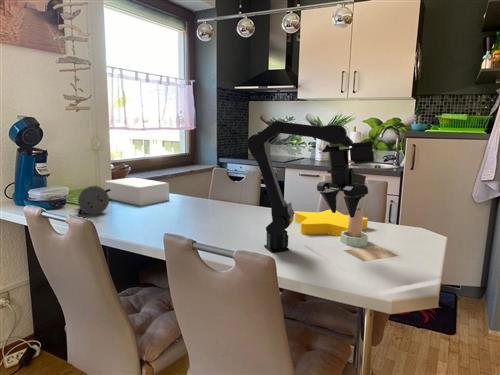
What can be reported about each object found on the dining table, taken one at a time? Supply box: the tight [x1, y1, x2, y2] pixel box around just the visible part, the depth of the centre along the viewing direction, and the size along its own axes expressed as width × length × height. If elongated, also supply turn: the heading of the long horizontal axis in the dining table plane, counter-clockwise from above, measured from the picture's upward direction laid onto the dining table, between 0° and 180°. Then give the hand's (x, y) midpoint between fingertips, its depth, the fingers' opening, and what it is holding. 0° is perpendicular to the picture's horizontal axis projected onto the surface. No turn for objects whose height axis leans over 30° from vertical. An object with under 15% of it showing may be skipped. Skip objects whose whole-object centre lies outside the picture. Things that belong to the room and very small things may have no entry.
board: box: [343, 245, 399, 262], centre depth 116 cm, size 14×10×1 cm
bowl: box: [339, 231, 369, 248], centre depth 127 cm, size 9×9×4 cm
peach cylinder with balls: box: [347, 205, 364, 238], centre depth 126 cm, size 5×5×13 cm
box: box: [104, 177, 170, 207], centre depth 195 cm, size 19×30×10 cm, turn 54°
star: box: [294, 208, 369, 237], centre depth 147 cm, size 30×4×29 cm
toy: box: [77, 185, 111, 215], centre depth 165 cm, size 17×13×30 cm
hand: (342, 215), depth 113 cm, fingers open, 9 cm apart
